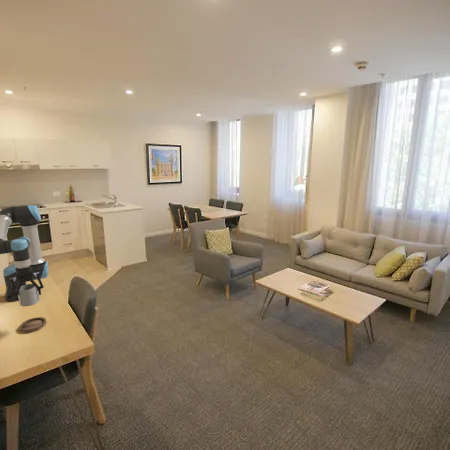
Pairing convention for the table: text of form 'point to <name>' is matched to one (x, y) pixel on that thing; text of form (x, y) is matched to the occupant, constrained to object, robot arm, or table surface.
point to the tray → (33, 324)
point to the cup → (28, 295)
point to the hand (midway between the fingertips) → (29, 302)
